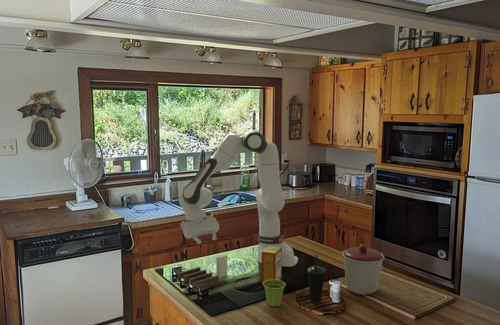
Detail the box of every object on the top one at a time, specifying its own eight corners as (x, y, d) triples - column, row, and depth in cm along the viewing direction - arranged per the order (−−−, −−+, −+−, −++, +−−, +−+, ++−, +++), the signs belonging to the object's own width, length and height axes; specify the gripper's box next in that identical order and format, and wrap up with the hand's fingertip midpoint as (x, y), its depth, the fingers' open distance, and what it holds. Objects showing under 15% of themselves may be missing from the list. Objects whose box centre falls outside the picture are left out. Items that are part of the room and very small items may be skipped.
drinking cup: (324, 297, 179) (324, 252, 177) (325, 305, 171) (326, 258, 169) (306, 296, 180) (306, 251, 177) (306, 304, 172) (307, 257, 170)
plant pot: (271, 296, 180) (271, 277, 179) (289, 302, 174) (290, 283, 173) (258, 304, 172) (258, 284, 171) (276, 311, 166) (276, 290, 165)
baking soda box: (274, 286, 190) (275, 252, 188) (261, 284, 193) (261, 250, 191) (281, 279, 199) (281, 246, 197) (268, 276, 202) (268, 245, 200)
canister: (354, 301, 175) (355, 253, 172) (334, 284, 192) (335, 240, 190) (391, 296, 180) (393, 249, 177) (368, 280, 197) (370, 237, 195)
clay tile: (216, 276, 202) (216, 256, 201) (224, 274, 205) (224, 254, 204) (219, 278, 200) (218, 258, 199) (227, 275, 204) (227, 255, 203)
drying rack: (176, 282, 195) (176, 273, 194) (200, 274, 204) (200, 266, 204) (195, 293, 183) (195, 283, 183) (220, 284, 192) (220, 275, 192)
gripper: (181, 218, 207) (192, 242, 201) (214, 212, 220) (226, 234, 214) (176, 225, 211) (187, 248, 205) (209, 218, 224) (220, 240, 218)
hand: (207, 241), depth 210 cm, fingers open, 8 cm apart
